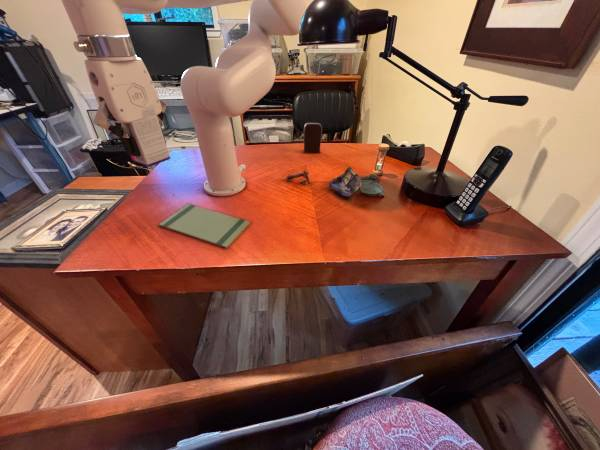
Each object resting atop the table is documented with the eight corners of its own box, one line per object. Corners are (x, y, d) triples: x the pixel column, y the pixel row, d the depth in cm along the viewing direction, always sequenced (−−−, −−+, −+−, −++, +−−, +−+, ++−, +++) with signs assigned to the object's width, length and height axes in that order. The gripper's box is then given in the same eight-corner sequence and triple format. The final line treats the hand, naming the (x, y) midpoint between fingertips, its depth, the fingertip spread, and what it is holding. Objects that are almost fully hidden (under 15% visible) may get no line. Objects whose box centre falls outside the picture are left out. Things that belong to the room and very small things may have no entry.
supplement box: (172, 158, 55) (154, 104, 48) (148, 168, 51) (124, 110, 44) (156, 153, 58) (136, 100, 50) (132, 161, 54) (107, 106, 46)
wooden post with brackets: (311, 184, 75) (306, 171, 73) (290, 188, 80) (285, 176, 78) (313, 181, 77) (309, 168, 75) (293, 185, 81) (288, 173, 79)
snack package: (374, 196, 73) (356, 177, 81) (376, 178, 68) (357, 160, 77) (338, 207, 71) (323, 187, 79) (337, 190, 67) (322, 170, 75)
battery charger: (319, 149, 100) (321, 121, 93) (320, 153, 97) (322, 124, 90) (303, 149, 100) (303, 121, 93) (303, 153, 97) (304, 124, 90)
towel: (188, 205, 67) (187, 203, 66) (250, 223, 61) (249, 221, 61) (159, 226, 60) (158, 223, 59) (226, 248, 54) (225, 246, 53)
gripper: (71, 52, 34) (125, 168, 46) (164, 48, 47) (189, 140, 58) (38, 50, 36) (98, 161, 48) (136, 47, 49) (165, 135, 60)
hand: (147, 148), depth 53 cm, fingers closed on supplement box, 6 cm apart
